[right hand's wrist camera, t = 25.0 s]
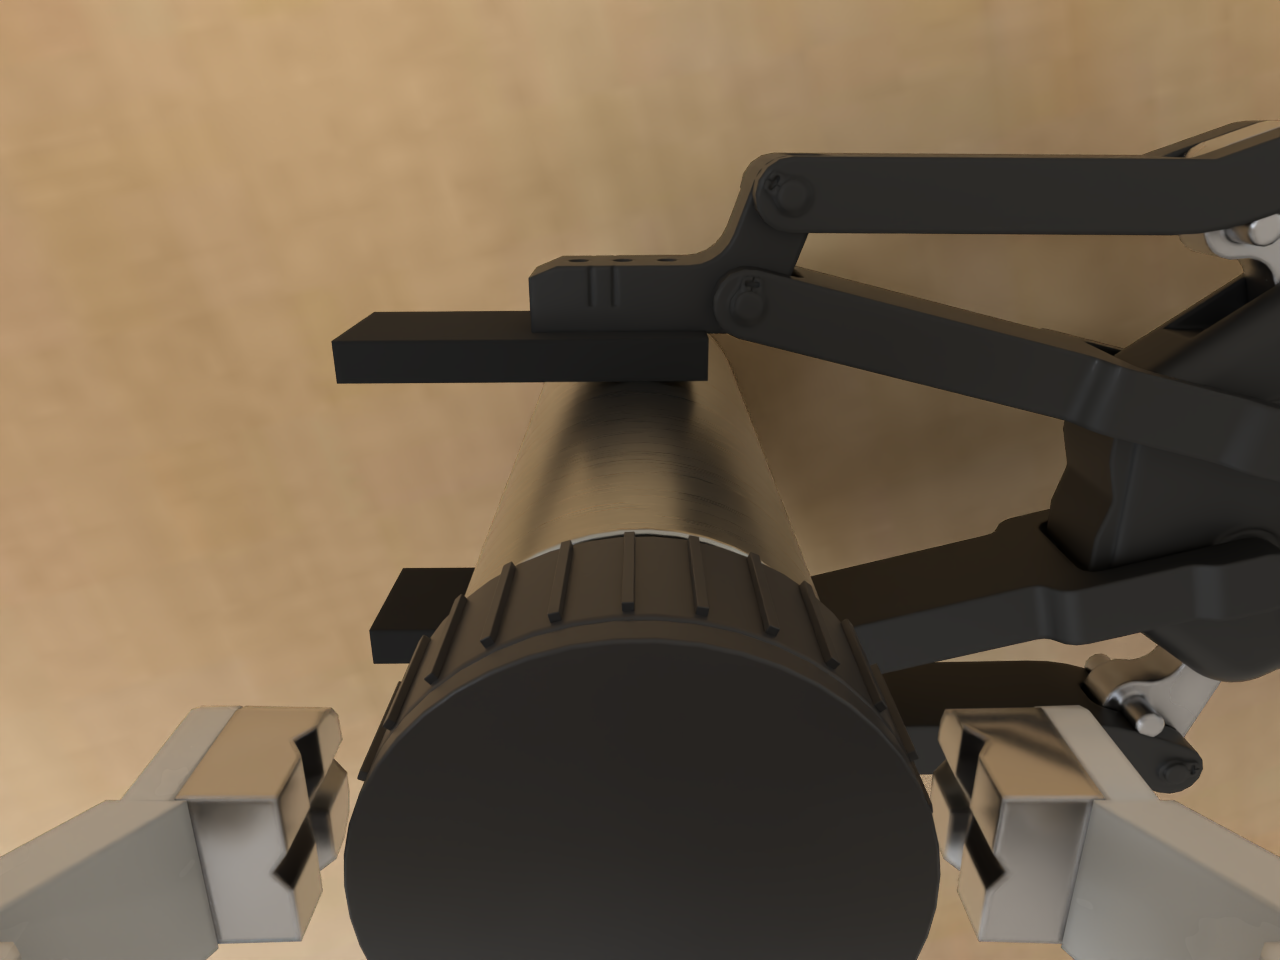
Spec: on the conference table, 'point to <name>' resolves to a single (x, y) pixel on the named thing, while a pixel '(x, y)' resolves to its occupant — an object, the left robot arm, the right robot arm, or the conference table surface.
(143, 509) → the conference table surface
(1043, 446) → the conference table surface
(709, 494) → the jar
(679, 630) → the lid
